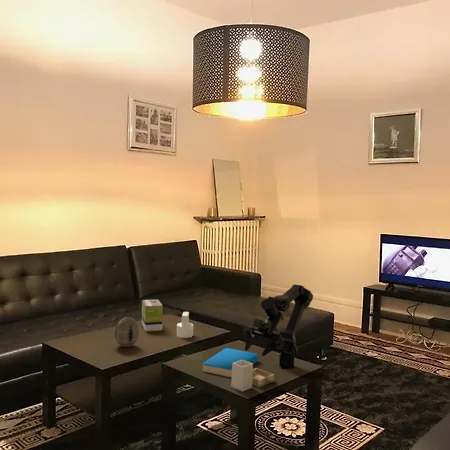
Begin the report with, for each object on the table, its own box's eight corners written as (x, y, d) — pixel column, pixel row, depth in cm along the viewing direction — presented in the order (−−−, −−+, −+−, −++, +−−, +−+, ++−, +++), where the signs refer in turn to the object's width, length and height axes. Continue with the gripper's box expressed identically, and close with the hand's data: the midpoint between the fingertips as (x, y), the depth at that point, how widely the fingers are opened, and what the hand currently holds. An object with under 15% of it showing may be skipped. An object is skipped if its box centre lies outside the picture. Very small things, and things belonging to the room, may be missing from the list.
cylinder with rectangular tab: (192, 338, 264) (193, 316, 263) (175, 337, 264) (176, 315, 264) (193, 333, 273) (194, 312, 272) (177, 332, 273) (178, 311, 273)
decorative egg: (112, 344, 249) (112, 315, 248) (134, 341, 255) (135, 313, 254) (118, 351, 239) (118, 321, 238) (141, 348, 244) (142, 319, 243)
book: (202, 363, 217) (225, 347, 239) (201, 373, 217) (225, 355, 240) (237, 370, 210) (258, 352, 232) (237, 380, 210) (258, 361, 233)
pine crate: (255, 374, 215) (256, 368, 215) (274, 381, 208) (274, 374, 208) (240, 380, 208) (240, 373, 207) (258, 387, 201) (259, 380, 201)
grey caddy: (241, 383, 205) (242, 359, 204) (252, 387, 201) (253, 363, 200) (231, 387, 200) (232, 363, 200) (242, 391, 196) (243, 367, 196)
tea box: (141, 324, 288) (141, 299, 287) (158, 323, 291) (158, 298, 290) (144, 331, 274) (145, 305, 273) (162, 330, 277) (163, 304, 276)
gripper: (246, 307, 214) (228, 337, 206) (281, 315, 201) (263, 347, 194) (257, 322, 220) (240, 351, 213) (291, 331, 207) (274, 362, 200)
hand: (253, 352), depth 205 cm, fingers open, 9 cm apart
